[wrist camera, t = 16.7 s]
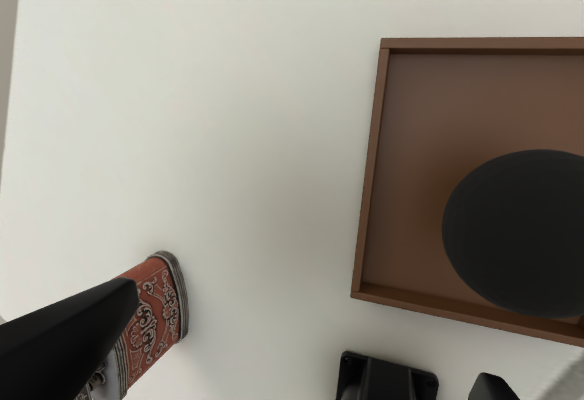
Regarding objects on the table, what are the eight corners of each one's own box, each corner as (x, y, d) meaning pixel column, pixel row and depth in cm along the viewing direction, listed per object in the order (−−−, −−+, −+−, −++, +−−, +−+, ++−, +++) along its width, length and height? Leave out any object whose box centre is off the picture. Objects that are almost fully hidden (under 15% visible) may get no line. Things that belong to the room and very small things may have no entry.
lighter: (146, 249, 27) (16, 315, 18) (180, 251, 26) (61, 322, 17) (160, 335, 29) (48, 435, 20) (193, 340, 28) (91, 448, 19)
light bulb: (572, 191, 17) (784, 274, 8) (479, 261, 19) (557, 392, 10) (486, 116, 17) (589, 109, 8) (404, 193, 20) (412, 257, 10)
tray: (581, 329, 19) (601, 351, 17) (354, 283, 22) (350, 298, 20) (672, 46, 15) (710, 36, 13) (382, 46, 19) (381, 37, 17)
